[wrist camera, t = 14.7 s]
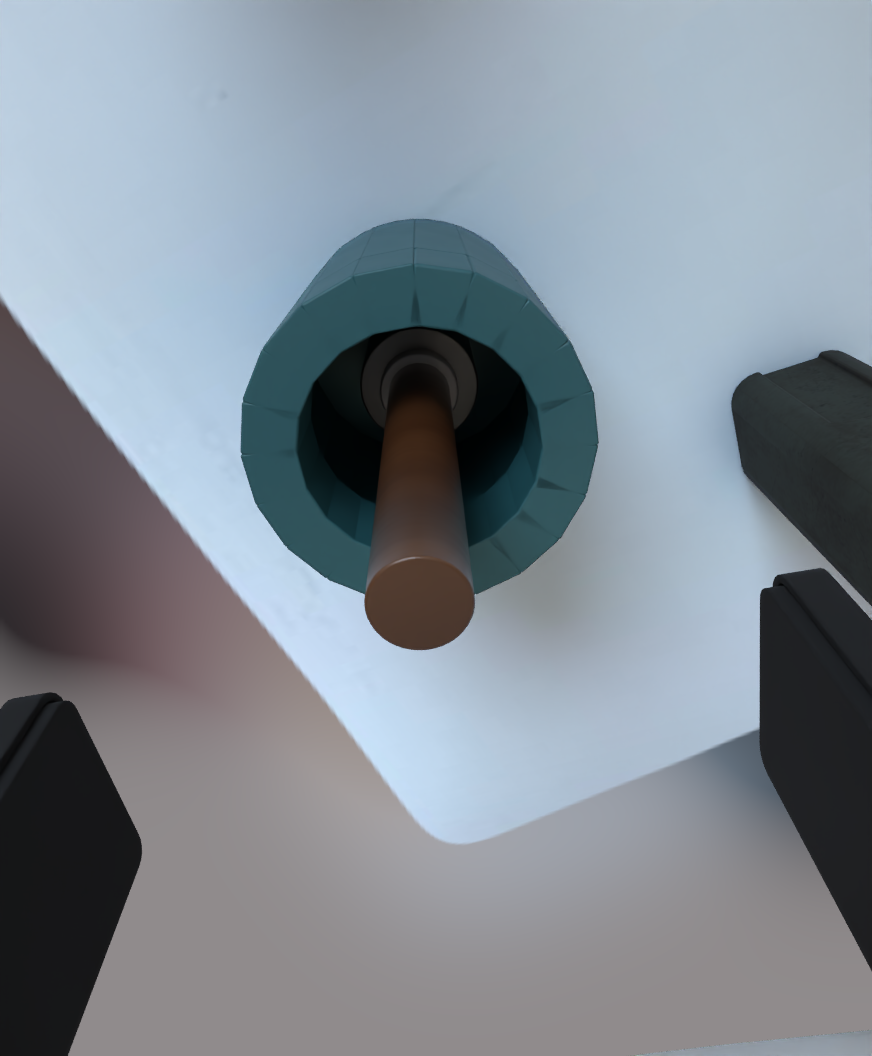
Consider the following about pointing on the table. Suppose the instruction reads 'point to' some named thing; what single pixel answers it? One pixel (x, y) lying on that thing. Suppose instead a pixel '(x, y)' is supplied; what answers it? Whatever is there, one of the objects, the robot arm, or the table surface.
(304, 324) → the teal hollow cylinder
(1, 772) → the robot arm
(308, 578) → the table surface
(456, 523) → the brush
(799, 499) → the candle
